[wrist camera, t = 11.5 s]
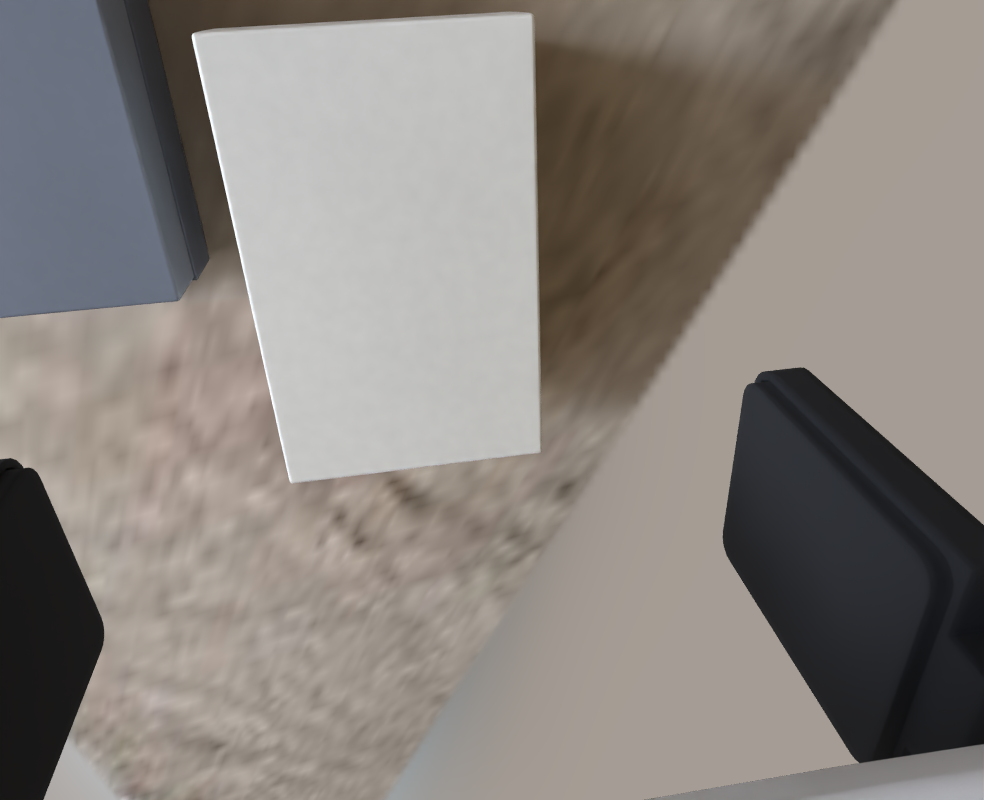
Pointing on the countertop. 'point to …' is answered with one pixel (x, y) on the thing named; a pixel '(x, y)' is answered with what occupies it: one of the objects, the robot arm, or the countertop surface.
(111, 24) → the grey books
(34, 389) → the countertop surface
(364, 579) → the countertop surface
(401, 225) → the white book
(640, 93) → the countertop surface
